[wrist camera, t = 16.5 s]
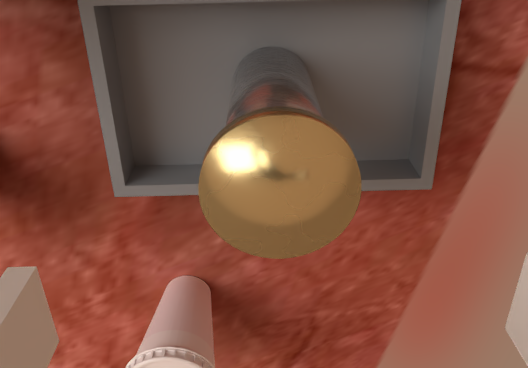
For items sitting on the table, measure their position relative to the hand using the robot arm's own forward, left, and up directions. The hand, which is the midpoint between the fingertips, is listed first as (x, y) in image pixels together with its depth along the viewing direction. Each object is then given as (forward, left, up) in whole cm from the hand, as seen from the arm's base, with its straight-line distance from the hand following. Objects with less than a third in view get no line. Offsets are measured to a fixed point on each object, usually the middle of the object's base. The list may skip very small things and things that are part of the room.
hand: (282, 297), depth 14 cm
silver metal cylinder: (0, 0, -20) cm, 20 cm away
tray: (0, 0, -21) cm, 21 cm away
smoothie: (+18, -7, -21) cm, 29 cm away
